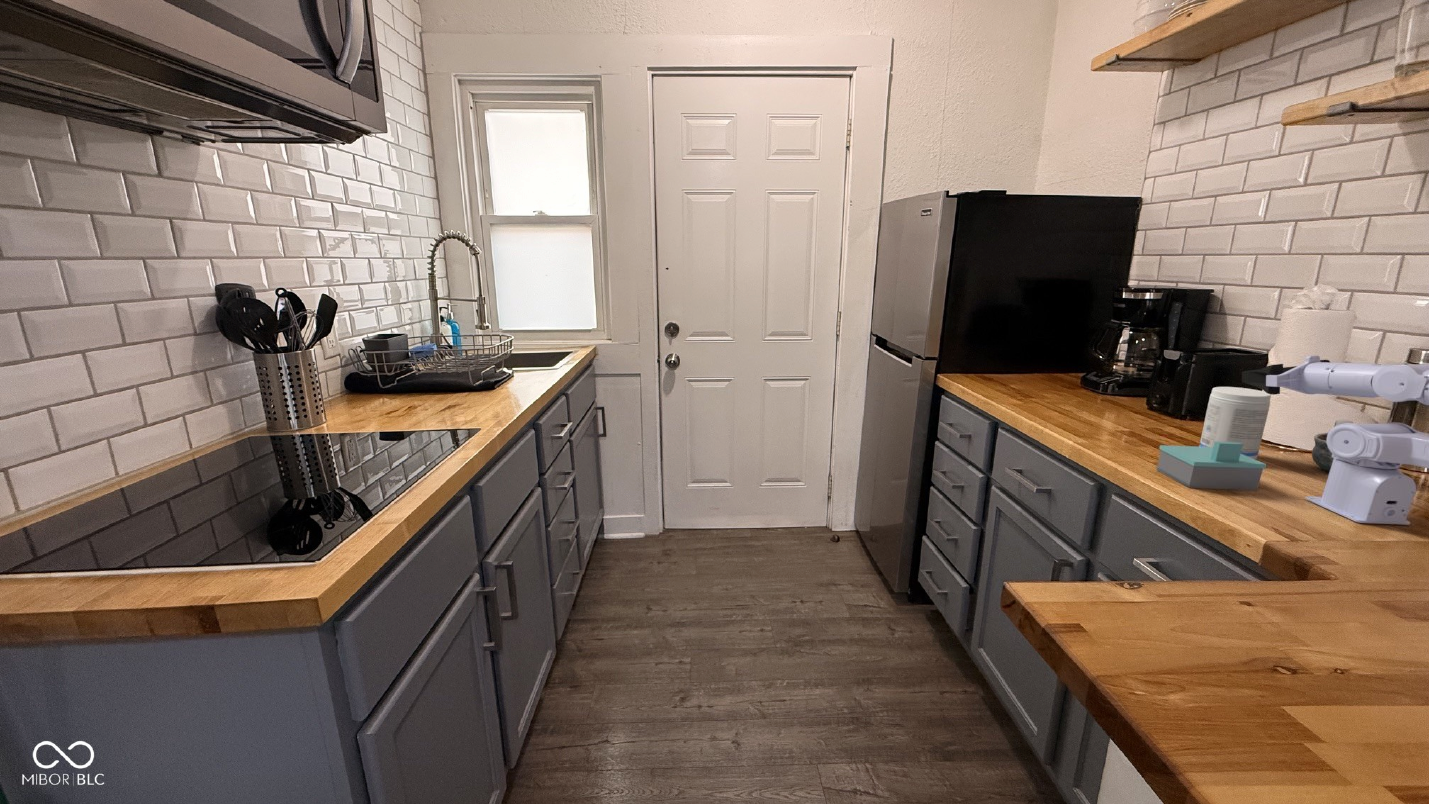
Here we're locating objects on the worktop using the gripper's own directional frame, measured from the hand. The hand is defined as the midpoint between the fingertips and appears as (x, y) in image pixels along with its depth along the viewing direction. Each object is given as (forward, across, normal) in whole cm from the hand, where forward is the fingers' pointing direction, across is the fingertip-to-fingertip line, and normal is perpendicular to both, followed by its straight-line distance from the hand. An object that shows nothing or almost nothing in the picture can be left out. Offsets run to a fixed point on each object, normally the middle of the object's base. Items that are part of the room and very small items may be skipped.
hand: (1261, 375), depth 110 cm
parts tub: (-3, +15, +19) cm, 24 cm away
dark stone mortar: (0, -17, +22) cm, 28 cm away
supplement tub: (+10, -3, +19) cm, 21 cm away
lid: (-3, +14, +16) cm, 21 cm away
